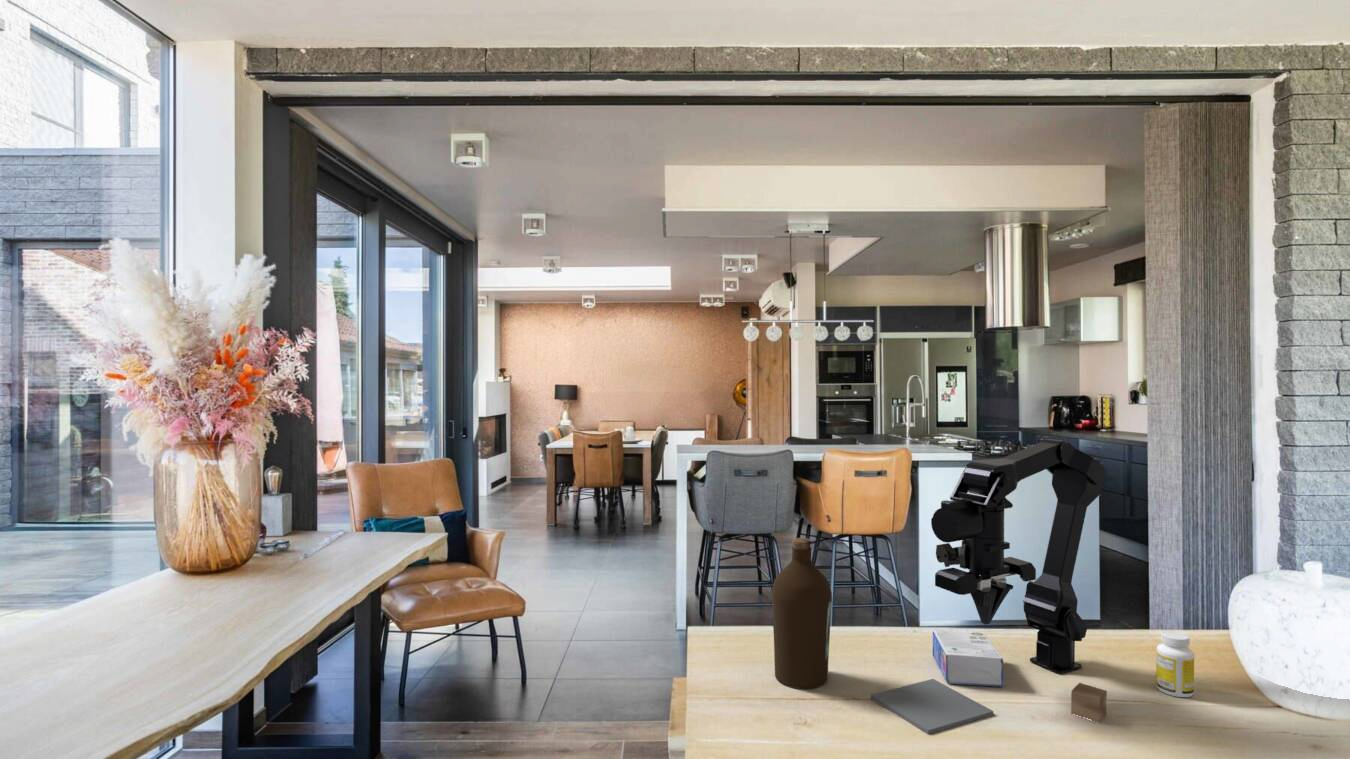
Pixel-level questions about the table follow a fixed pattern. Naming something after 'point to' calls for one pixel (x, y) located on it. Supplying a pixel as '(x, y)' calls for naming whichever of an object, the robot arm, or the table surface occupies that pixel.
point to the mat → (931, 705)
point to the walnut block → (1089, 702)
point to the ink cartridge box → (967, 658)
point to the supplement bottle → (1175, 665)
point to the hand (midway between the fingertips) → (985, 623)
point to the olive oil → (801, 621)
